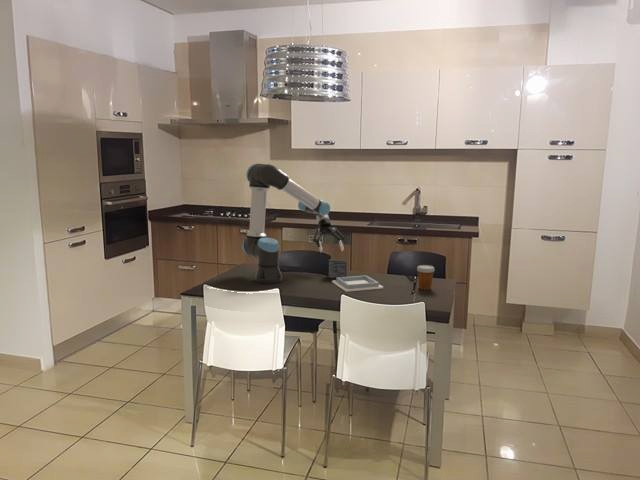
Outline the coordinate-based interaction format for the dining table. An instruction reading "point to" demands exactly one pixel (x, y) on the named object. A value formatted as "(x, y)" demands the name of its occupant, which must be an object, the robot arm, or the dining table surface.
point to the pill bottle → (425, 276)
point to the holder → (356, 283)
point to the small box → (337, 268)
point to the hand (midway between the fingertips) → (332, 250)
